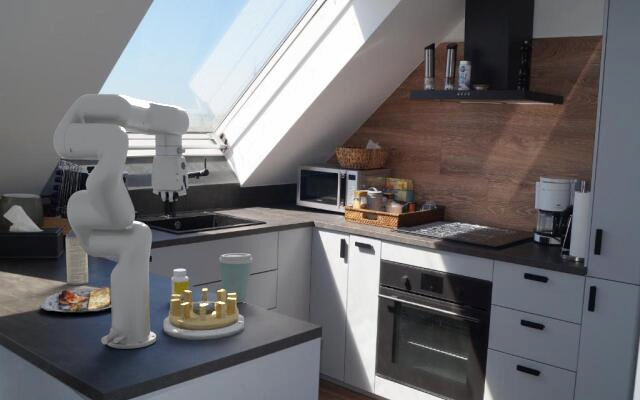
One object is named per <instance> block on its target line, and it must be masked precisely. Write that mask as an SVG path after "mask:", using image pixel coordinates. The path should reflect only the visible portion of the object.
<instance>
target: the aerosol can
mask: <svg viewBox="0 0 640 400" xmlns="http://www.w3.org/2000/svg"><path fill="white" fill-rule="evenodd" d="M65 259H66V260H65V261H66V284H67V285H68V286H85V285H88V283H89V267H88V265H89V263H88V260H89V259H88V254H87V253H86V252H85V251H84V250H83V248H82V246H81V244H80V242H79V241H78V239H77V237H76V235H75V233H74V231H73V229H72V228H71V229H70V230H69V232H68V233H66V234H65Z"/></svg>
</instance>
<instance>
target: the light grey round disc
mask: <svg viewBox="0 0 640 400" xmlns="http://www.w3.org/2000/svg"><path fill="white" fill-rule="evenodd" d="M243 329H245V317H244V316H243V315H242V314H240V313H239V320H238V321H237V322H236V323H234V324H233V325H230V326H227V327H223V328H218V329H211V330H189V329H182V328H178V327H175V326H173V325H171V324H170V323H169V315H168V316H167V317H165V318H164V320H163V332H164V333H165V334H166V335H168V336H171V337H172V338H177V339H182V340H188V341H189V340H193V341H205V340H207V341H209V340H217V339H225V338H227V337H230V336H234V335H237V334H238V333H239V334H240V332H241V331H243Z"/></svg>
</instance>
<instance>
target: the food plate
mask: <svg viewBox="0 0 640 400" xmlns="http://www.w3.org/2000/svg"><path fill="white" fill-rule="evenodd" d="M41 308H42V309H43V310H44V311H51V312H52V311H54V312H61V313H66V314H68V313H69V314H77V313H78V314H79V313H80V314H83V313H95V312H103V311H105V310H107V309H111V289H110V287H109V286H104V287H99V288H81V289H79V288H78V289H71V290H68V289H67V288H66V289H65V290H62V291H61V292H57V293H54V294H51V295H50V296H46V297H45V299H44V301H42V305H41ZM59 308H61V309H59ZM65 309H66V310H65ZM83 309H86V310H83ZM81 310H82V311H81Z"/></svg>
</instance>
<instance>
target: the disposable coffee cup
mask: <svg viewBox="0 0 640 400" xmlns="http://www.w3.org/2000/svg"><path fill="white" fill-rule="evenodd" d="M253 259H254V258H253V257H252V254H251V253H245V252H244V253H242V252H240V253H239V252H235V253H233V252H232V253H225V254H221V255H220V257H218V261H219V267H220V276H221V286H222V289H224V290H226V303H227V294H229V293H236V294H237V303H238V304H240V303H243V302H245V301H246V299H247V295H248V294H247V293H248V288H249V283H250V282H249V280H250V276H251V272H252V271H251V269H252V264H253V262H254V260H253Z"/></svg>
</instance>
